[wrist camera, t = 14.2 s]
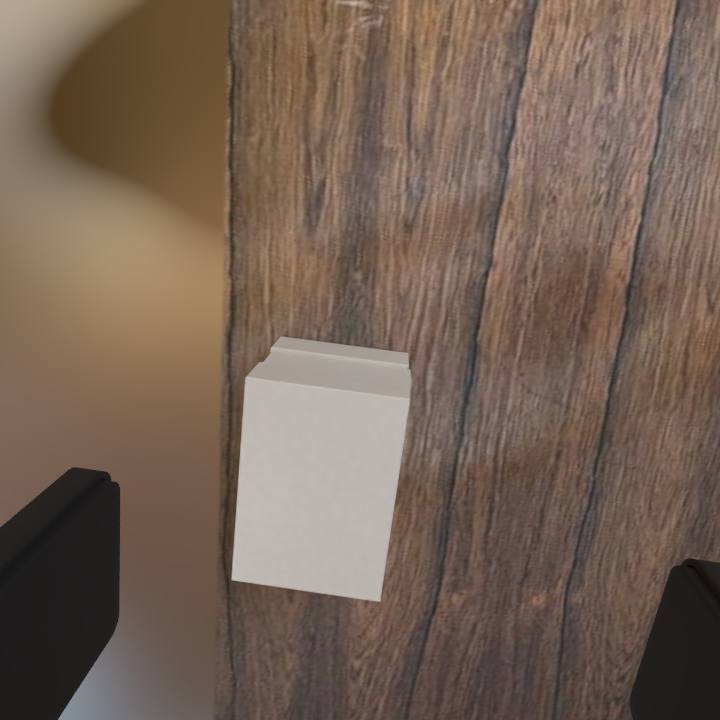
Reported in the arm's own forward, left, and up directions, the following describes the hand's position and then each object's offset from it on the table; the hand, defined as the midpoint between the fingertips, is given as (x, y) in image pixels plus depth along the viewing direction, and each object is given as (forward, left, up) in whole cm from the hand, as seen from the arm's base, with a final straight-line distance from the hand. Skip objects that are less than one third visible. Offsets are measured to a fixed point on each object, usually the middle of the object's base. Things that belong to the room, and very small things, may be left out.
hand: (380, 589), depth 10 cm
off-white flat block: (+2, -7, -17) cm, 19 cm away
